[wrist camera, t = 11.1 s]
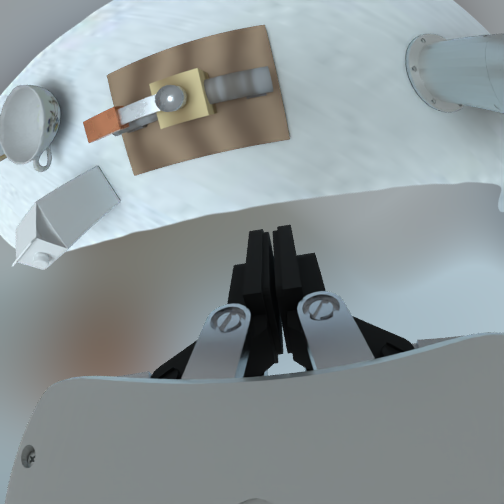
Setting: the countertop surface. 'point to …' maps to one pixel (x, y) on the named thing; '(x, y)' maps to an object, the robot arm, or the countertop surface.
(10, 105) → the teacup
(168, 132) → the stand
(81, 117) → the countertop surface
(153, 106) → the valve lever
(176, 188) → the countertop surface
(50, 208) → the milk carton
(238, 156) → the countertop surface
